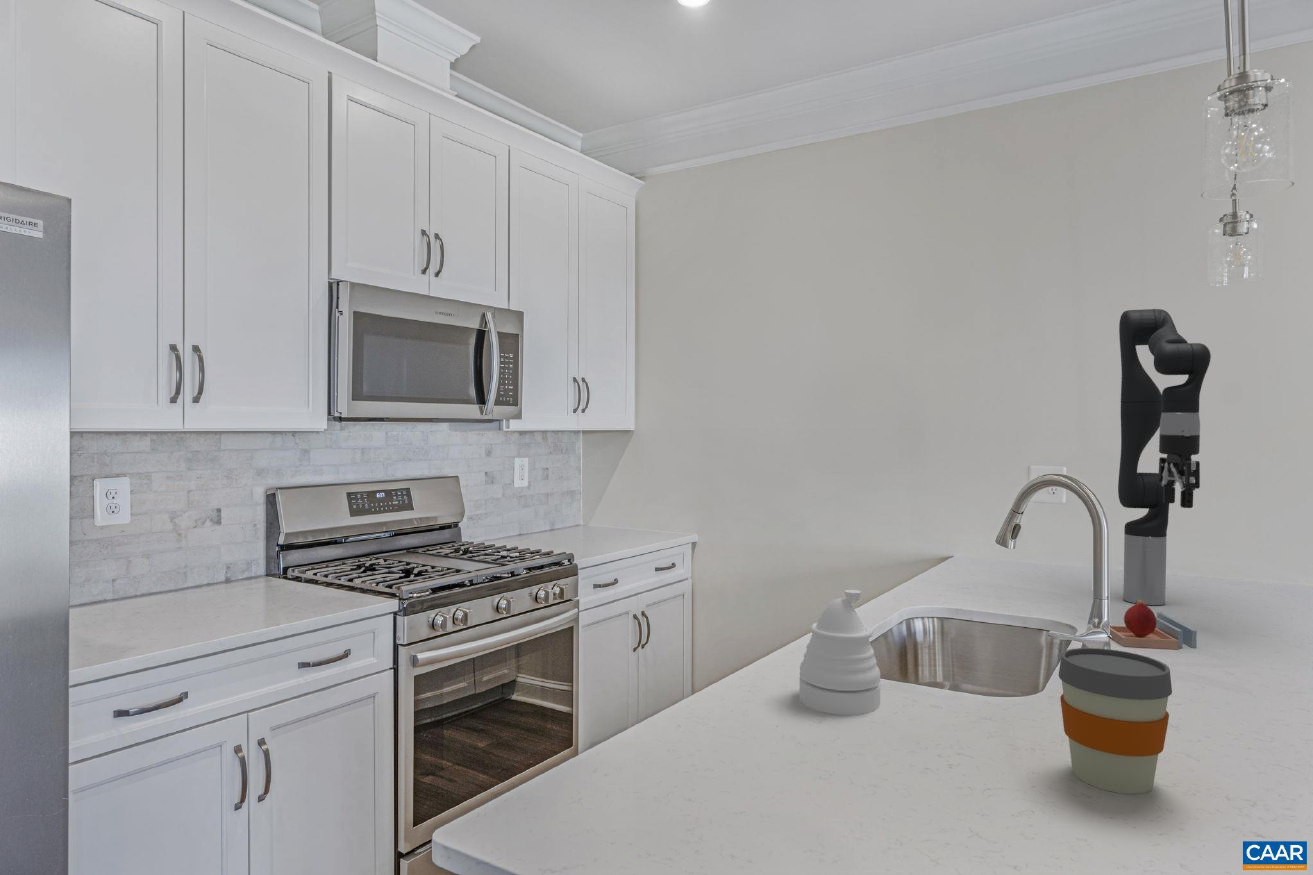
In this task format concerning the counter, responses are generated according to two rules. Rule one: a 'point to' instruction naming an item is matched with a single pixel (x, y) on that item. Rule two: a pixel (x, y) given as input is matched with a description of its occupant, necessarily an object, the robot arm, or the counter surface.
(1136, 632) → the pomegranate
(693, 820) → the counter surface
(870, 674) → the honey pot
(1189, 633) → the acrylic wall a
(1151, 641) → the terracotta dish
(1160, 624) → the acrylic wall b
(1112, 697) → the reusable coffee cup
